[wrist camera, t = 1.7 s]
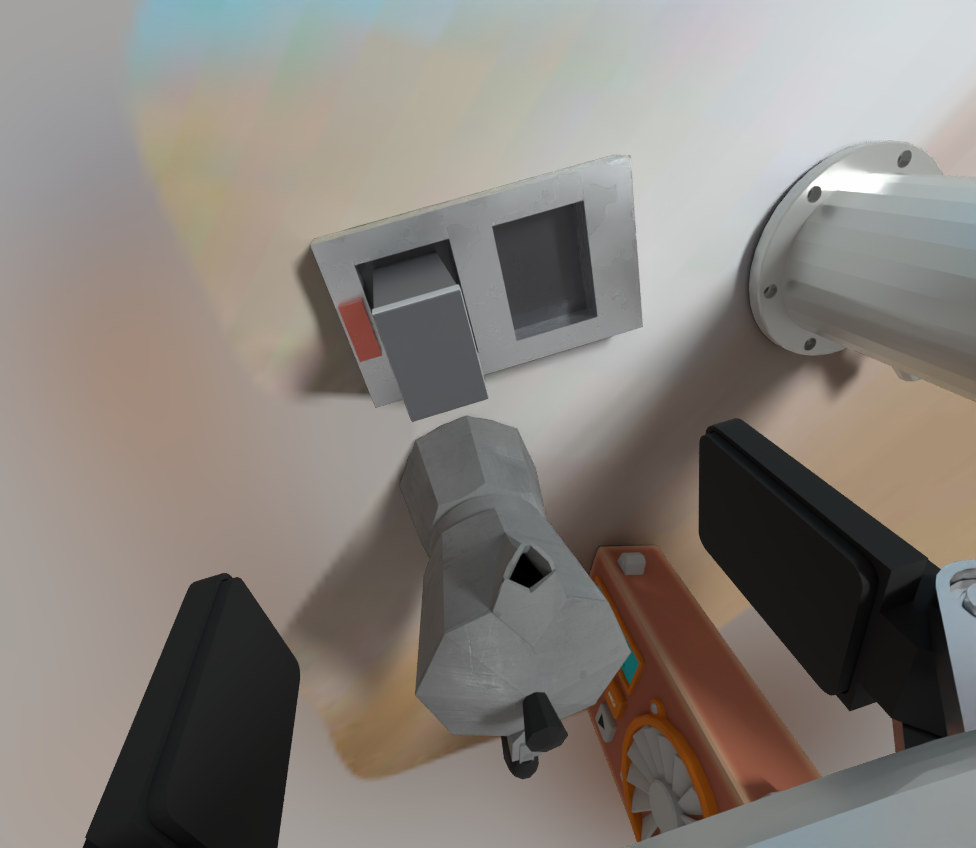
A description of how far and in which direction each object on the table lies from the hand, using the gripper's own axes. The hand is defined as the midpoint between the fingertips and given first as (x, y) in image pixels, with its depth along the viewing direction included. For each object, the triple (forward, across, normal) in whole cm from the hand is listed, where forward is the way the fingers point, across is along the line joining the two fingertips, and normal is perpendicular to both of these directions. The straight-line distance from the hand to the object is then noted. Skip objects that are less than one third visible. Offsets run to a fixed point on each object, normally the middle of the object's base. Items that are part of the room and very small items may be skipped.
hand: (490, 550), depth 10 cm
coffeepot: (+21, 0, +14) cm, 25 cm away
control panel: (+21, -9, +30) cm, 37 cm away
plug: (+20, 0, 0) cm, 20 cm away
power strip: (+20, -4, 0) cm, 21 cm away
